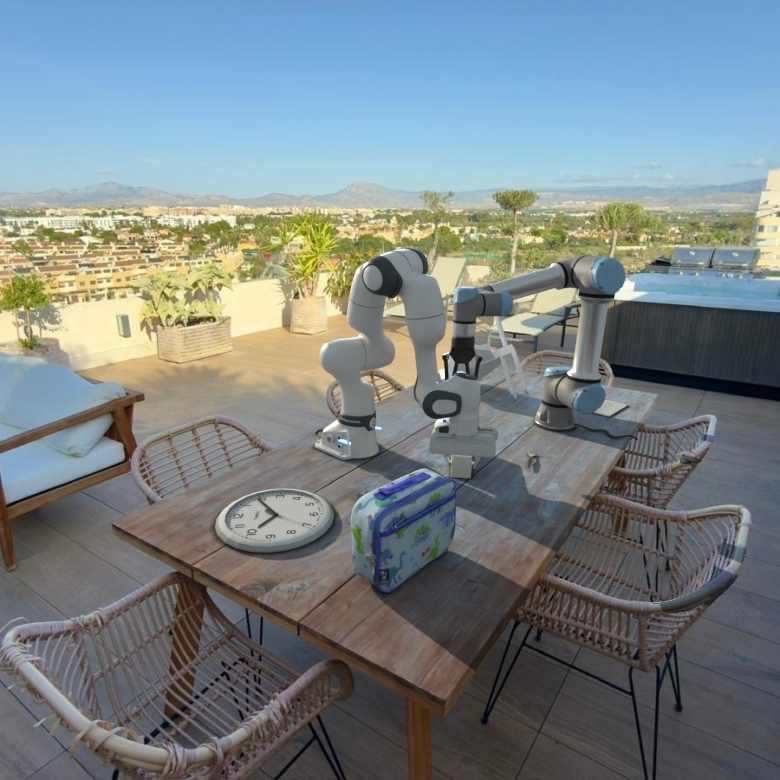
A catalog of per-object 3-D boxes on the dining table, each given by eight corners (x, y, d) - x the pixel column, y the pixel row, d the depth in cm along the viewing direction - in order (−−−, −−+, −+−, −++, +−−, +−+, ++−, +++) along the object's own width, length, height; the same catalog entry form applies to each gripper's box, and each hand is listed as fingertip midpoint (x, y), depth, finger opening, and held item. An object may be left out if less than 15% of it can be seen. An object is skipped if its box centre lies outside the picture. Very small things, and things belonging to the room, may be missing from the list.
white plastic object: (461, 429, 252) (437, 405, 227) (444, 352, 274) (420, 323, 250) (535, 404, 240) (518, 377, 215) (510, 326, 262) (492, 293, 237)
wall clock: (332, 544, 122) (200, 548, 120) (332, 550, 123) (201, 555, 120) (334, 484, 151) (228, 486, 148) (334, 489, 151) (228, 491, 149)
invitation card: (608, 416, 214) (573, 407, 224) (608, 416, 214) (573, 408, 224) (628, 404, 229) (594, 396, 238) (628, 405, 229) (594, 397, 238)
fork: (523, 469, 166) (524, 463, 165) (529, 450, 180) (529, 445, 179) (532, 470, 165) (532, 464, 164) (536, 451, 179) (537, 446, 179)
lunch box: (379, 605, 105) (380, 513, 99) (344, 580, 112) (343, 493, 106) (459, 552, 123) (464, 471, 116) (425, 533, 130) (428, 456, 124)
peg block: (468, 447, 182) (469, 431, 180) (470, 478, 159) (472, 460, 158) (451, 446, 183) (452, 430, 181) (451, 477, 160) (452, 459, 158)
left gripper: (497, 424, 160) (494, 465, 164) (430, 420, 162) (429, 460, 166) (499, 431, 154) (495, 474, 158) (429, 427, 156) (428, 469, 160)
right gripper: (488, 334, 171) (483, 402, 178) (439, 332, 173) (436, 399, 180) (489, 338, 164) (483, 409, 171) (437, 336, 166) (434, 406, 173)
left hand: (461, 467), depth 162 cm, fingers closed on peg block, 6 cm apart
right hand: (459, 404), depth 175 cm, fingers closed on walnut peg, 3 cm apart
